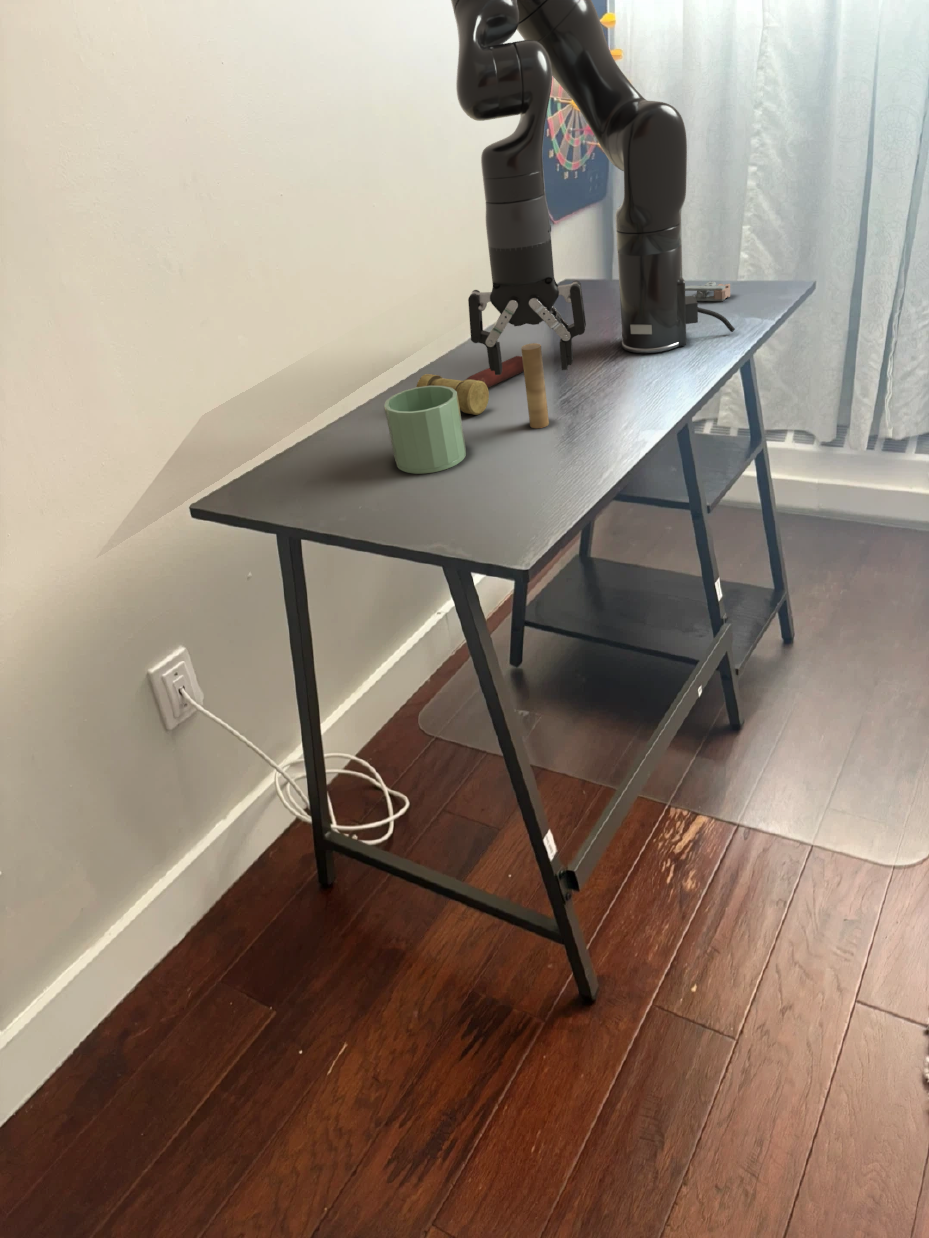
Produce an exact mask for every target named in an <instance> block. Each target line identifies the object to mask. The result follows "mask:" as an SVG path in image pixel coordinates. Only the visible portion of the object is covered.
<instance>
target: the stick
mask: <svg viewBox="0 0 929 1238" xmlns="http://www.w3.org/2000/svg"><path fill="white" fill-rule="evenodd" d="M520 350H521V356H522V360H523V369H524V371H523V376H524V383H525V384H524V386H525V394H526V402H527V403H526V404H527V411H528V419H529V420H528V421H529V426H530V427H531V429H543V428H546V427H548V426H549V424H550V420H549V411H548V410H549V409H548V400H547V392H546V383H545V382H546V381H545V372H544V364H543V363H544V361H543V353H542V345H541V343H536V342H533V343H532V342H531V343H527V344H524V345H522V346H521V348H520Z"/></svg>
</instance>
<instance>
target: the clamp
mask: <svg viewBox="0 0 929 1238" xmlns="http://www.w3.org/2000/svg"><path fill="white" fill-rule="evenodd" d="M685 292H696V294H695V295H693V296H694V298H695V299H696V301H697V302H723V301H725V300H726V298H727V299H728V298H730V297H731V283H725V284H723V283H718V284H717V282H716V281H707V282H706V283H705V284H704V285H685ZM709 292H713V295H708V293H709Z"/></svg>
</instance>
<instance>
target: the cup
mask: <svg viewBox="0 0 929 1238" xmlns="http://www.w3.org/2000/svg"><path fill="white" fill-rule="evenodd" d="M383 407H384V411H385V412H384V413H385V417H386V423H387V427H388V432H389V437H390V442H391V447H392V453H393V457H394V461H395V464H396V468H398V470H400V471H401V472H404V473H408V474H415V475H417V474H420V475H421V474H422V475H423V474H432V473H438V472H441V471H446V470H448V469H451V468H453V467H455V466H457V465H458V464H460V463H461V462H462V461H463V460H464V459H465V458H466V455H467V450H466V447H467V446H466V441H465V434H464V429H463V428H464V427H463V422H462V416H461V410H460V408H459V401H458V395H457V392H456V391H455V390H454V389H453V388H450V387H446V386H423V387H412V388H409V389H405V390H402V391H399V392H398V393H395V394H392V395H391V396H390V397H389V398H387V399H385V402H384V406H383Z"/></svg>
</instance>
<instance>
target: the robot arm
mask: <svg viewBox="0 0 929 1238" xmlns="http://www.w3.org/2000/svg"><path fill="white" fill-rule="evenodd" d="M450 2H451V6H452V11H453V15H454V20H455V23H456V28H457V29H456V31H457V37H458V56H457V66H456V67H457V68H456V78H455V79H456V82H455V83H456V84H455V86H456V87H455V90H456V97H457V101H458V105H459V106H460V108H461V110H462V111H463V113H464V114H466V115H467V116H468V117H469V118H470V119H472V120H473V121H477V122H483V121H490V120H497V119H502V118H508V117H514V116H519V121H518V123H517V126H516V128H515V129H514V131H513V132H512V133H511V134H509V135H508V136H506V137H504V138H502V139H500V140H497V141H495V142H493V143H491V144H489V145H486V146H485V147H484V149H483V150H482V152H481V156H480V164H481V175H482V176H481V177H482V183H483V192H484V201H485V228H486V229H485V230H486V238H487V247H488V255H489V257H488V258H489V263H490V274H491V280H492V281H491V282H492V283H491V284H492V289H491V291H483V292H482V291H480V290H479V289H473V290H472V291H471V293H470V294H469V297H468V299H467V301H468V316H469V331H470V333H469V334H470V341H471V342H472V343H473V344H481V345H483V346H485V348H486V353H487V359H488V360H487V361H488V368H490V370H491V371H495V375H501V373H502V362H503V361H502V352H501V344H500V341H498V340H499V338H500V337H501V335H502V333H503V332H504V330H505V329H506V327H507V325H508V324H510V325H512V326H513V327H520V326H524V325H526V324H527V325H533V326H534V325H540V323H542V322H544V323H545V324H546V325H547V326H548V327H549V329H550V330H553V331H554V332H555V334H556V335H557V336H558V337H559V338H560V339H559V353H560V365H561V371H568V369H569V366H572V364H573V360H574V352H573V338H575V337H576V336H581V335H583V334H584V333H585V331H586V326H587V321H586V313H585V304H584V298H583V297H584V295H583V290H582V289H583V288H582V283H581V282H580V281H579V280H573V281H572V282H571V283H568V284H567V283H566V284H560V285H558V283H557V281H556V279H555V270H554V269H555V268H554V256H553V245H552V233H551V232H552V224H551V221H550V212H549V208H548V207H549V206H548V203H547V202H548V201H547V196H546V184H545V171H544V159H543V157H544V156H543V155H544V154H543V153H544V152H543V150H544V137H545V128H546V120H547V114H548V108H549V104H550V100H551V99H550V98H551V93H552V85H553V79H554V80H555V81H556V82H557V83H558V84H559V85H560V87H561V88H562V89H563V90H564V92H566V94H568V96H569V97H570V99H571V100H572V101H573V103H574V104H575V105H576V107H577V109H578V110H579V112H580V114H582V117H583V118H584V120H585V122H586V123H587V125H588V127H589V128H590V130H591V132H592V134H593V136H594V137H595V140H596V141H597V144H599V146H600V147H601V149H602V151H603V153H604V155H605V156H606V158H607V159H608V161H610V163H611V165H613V166H614V167H615V168H617V169H618V170H619V171H621V172H623V192H624V193H623V200H622V203H621V204H620V205H619V206H618V207H617V209H616V210H615V217H614V218H615V235H616V236H615V237H616V251H617V253H616V254H617V268H618V288H619V304H620V320H621V321H620V323H621V338H622V339H621V347H622V349H623V350H624V351H627V352H631V353H636V354H654V353H661V352H666V351H670V350H673V349H676V348H679V347H683V346H687V325H690V324H697V323H699V314H704V315H708V316H710V317H713V318H715V319H717V320H719V321H721V322H722V324H724V325H725V327H726V328H727V329H728V331H729V332H730V333H733V332H734V331H735V330H736V328H735V327H734V326H733V325H732V323H731V322H730V321H729V320H728V319H727V318H726V317H725V316H723V314H720V313H719V312H716V311H713V310H710V309H706V308H703V307H699V305H698V301H696V299H695V298H694V296H695V295H686V291H685V286H686V281H685V279H684V277H683V243H682V242H683V240H682V238H683V237H682V210H683V206H684V204H685V201H686V196H687V175H688V174H687V173H688V172H687V171H688V166H687V165H688V141H687V129H686V126H685V122H684V119H683V117H682V115H681V114H680V112H679V110H678V109H677V108H675V107H674V106H673V105H671V104H669V103H667V102H664V101H656V100H649V99H648V100H647V99H646V98H645V97H644V96H643V95H641V94H640V92H639V90H637V89H636V87H635V86H634V85H633V84H632V82H630V80H629V79H628V78H627V76H626V75H625V73H624V72H623V71H622V70H621V68H620V67H619V65H618V64H617V62H616V60H615V58H614V57H613V55H612V53H611V50H610V47H609V44H608V42H607V38H606V35H605V31H604V29H603V26H602V23H601V19H600V17H599V15H598V12H597V9H596V7H595V4H594V2H593V1H592V0H450ZM516 31H517V32H518V34H519V35H520V36H521V37H522V39H523V40H517V41H512V42H508V41H509V40H510V39H511V38H512V37H513V36H514V34H515V33H516ZM559 296H561V297H563V298H564V301H565V302H566V303H567V304H571V311H572V319H573V323H571V324H569V323H568V322H567V321H566V320H565V318H563V316H562V314H561V313H560V312H559V311H558V309H556V307H555V306H554V305H555V303H556V302H557V300H558V298H559ZM488 303H491V305H492V306H493V307H494V308H495V309H496V310H497V312H498V313H499V316H498V318H497V319H496V321H495V322H494V325H493V326H492V328H491V329H490V331H487V330H484V323H483V312H484V311H485V310H486V308H487V305H488Z"/></svg>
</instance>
